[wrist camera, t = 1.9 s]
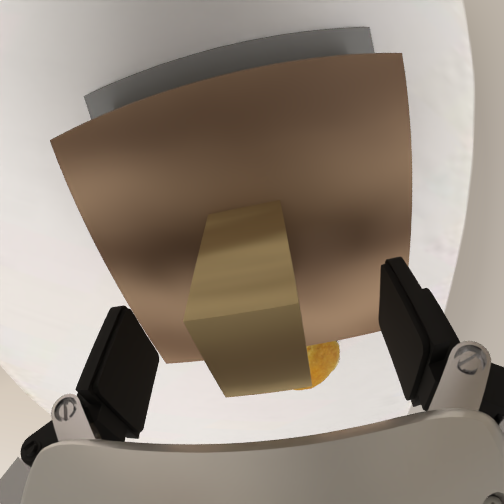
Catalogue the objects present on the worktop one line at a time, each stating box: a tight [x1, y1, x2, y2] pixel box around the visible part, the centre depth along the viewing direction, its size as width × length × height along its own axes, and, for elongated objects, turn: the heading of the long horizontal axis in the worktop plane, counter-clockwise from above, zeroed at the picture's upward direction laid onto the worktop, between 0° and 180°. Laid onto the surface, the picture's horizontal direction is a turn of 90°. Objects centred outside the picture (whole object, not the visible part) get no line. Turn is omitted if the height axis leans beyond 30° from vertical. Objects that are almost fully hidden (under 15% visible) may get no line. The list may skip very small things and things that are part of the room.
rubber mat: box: [84, 27, 374, 120], centre depth 20 cm, size 18×18×1 cm
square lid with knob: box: [50, 53, 412, 397], centre depth 14 cm, size 15×15×13 cm
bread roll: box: [293, 341, 340, 390], centre depth 28 cm, size 8×9×4 cm
